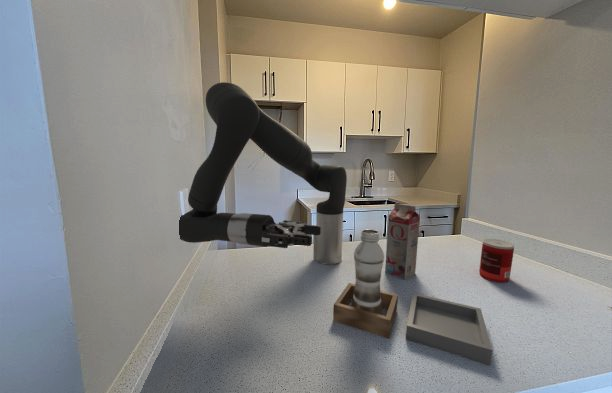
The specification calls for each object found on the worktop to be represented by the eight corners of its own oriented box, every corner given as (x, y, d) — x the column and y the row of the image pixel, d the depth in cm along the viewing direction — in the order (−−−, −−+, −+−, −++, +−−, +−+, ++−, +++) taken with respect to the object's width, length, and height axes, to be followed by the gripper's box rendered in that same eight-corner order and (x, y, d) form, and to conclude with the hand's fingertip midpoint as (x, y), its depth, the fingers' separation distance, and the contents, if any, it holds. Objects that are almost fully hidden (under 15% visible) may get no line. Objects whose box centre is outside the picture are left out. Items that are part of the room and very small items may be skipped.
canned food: (505, 274, 81) (509, 240, 79) (513, 285, 74) (518, 249, 72) (476, 269, 84) (480, 237, 82) (481, 279, 77) (485, 244, 75)
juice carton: (404, 279, 76) (410, 207, 73) (384, 272, 81) (389, 204, 78) (415, 273, 80) (420, 204, 77) (395, 266, 85) (400, 201, 82)
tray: (405, 339, 51) (406, 325, 51) (412, 304, 64) (413, 292, 63) (490, 365, 45) (492, 350, 44) (479, 320, 57) (480, 308, 57)
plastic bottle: (382, 326, 55) (388, 237, 52) (350, 322, 56) (354, 234, 53) (380, 309, 61) (385, 228, 58) (351, 305, 63) (354, 226, 60)
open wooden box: (333, 320, 57) (333, 304, 56) (348, 297, 66) (349, 282, 66) (389, 338, 51) (390, 320, 51) (396, 310, 61) (398, 294, 60)
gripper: (264, 236, 69) (322, 242, 65) (236, 253, 56) (307, 263, 51) (264, 209, 68) (323, 213, 64) (235, 220, 55) (308, 226, 50)
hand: (316, 235), depth 57 cm, fingers open, 8 cm apart
